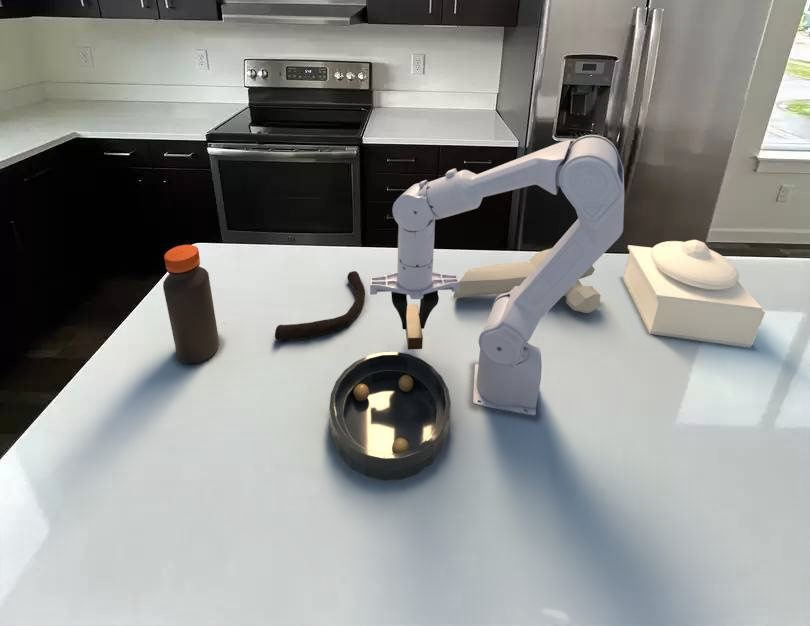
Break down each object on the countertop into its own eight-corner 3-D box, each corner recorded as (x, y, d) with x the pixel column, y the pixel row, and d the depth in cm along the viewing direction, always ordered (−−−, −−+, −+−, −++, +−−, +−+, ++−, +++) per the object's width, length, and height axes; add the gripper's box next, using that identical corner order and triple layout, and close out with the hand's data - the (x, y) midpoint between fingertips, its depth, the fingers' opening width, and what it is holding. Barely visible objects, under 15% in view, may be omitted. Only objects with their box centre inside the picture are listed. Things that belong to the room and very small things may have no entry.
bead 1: (361, 380, 66) (351, 383, 67) (359, 397, 64) (349, 400, 65) (373, 384, 67) (363, 387, 68) (371, 401, 65) (361, 404, 66)
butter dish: (751, 347, 79) (779, 275, 73) (647, 333, 82) (666, 262, 76) (706, 288, 95) (726, 226, 90) (620, 278, 98) (634, 217, 92)
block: (403, 315, 77) (404, 304, 76) (417, 315, 77) (417, 304, 76) (407, 349, 69) (408, 338, 69) (422, 349, 70) (422, 337, 69)
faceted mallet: (580, 278, 97) (588, 236, 94) (605, 321, 84) (616, 273, 81) (449, 273, 98) (452, 231, 94) (453, 315, 85) (457, 268, 81)
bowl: (453, 382, 70) (455, 361, 68) (441, 496, 54) (443, 471, 52) (351, 364, 73) (351, 344, 71) (312, 466, 57) (310, 443, 55)
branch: (309, 366, 72) (308, 351, 71) (270, 341, 77) (269, 327, 76) (388, 293, 91) (389, 280, 90) (353, 277, 96) (353, 264, 95)
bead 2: (417, 388, 66) (415, 383, 69) (409, 373, 67) (407, 370, 69) (404, 397, 66) (403, 392, 68) (396, 383, 66) (395, 379, 69)
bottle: (199, 370, 71) (181, 268, 64) (168, 358, 73) (146, 259, 66) (228, 341, 77) (213, 246, 70) (198, 331, 79) (181, 238, 72)
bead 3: (404, 432, 60) (411, 451, 59) (388, 441, 59) (395, 460, 58) (405, 435, 57) (413, 455, 57) (389, 445, 57) (397, 464, 56)
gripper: (370, 273, 64) (370, 344, 68) (465, 270, 65) (459, 340, 70) (369, 247, 70) (370, 314, 75) (456, 245, 72) (451, 311, 76)
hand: (412, 324), depth 73 cm, fingers closed on block, 2 cm apart
